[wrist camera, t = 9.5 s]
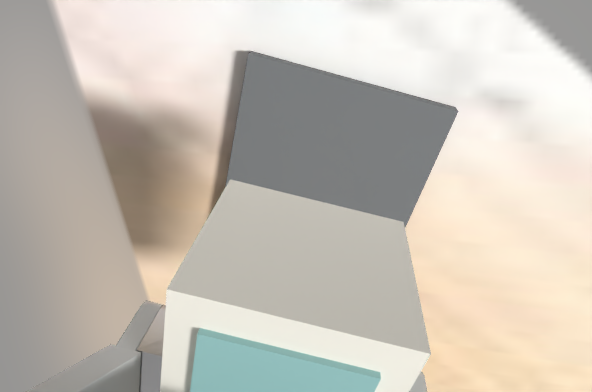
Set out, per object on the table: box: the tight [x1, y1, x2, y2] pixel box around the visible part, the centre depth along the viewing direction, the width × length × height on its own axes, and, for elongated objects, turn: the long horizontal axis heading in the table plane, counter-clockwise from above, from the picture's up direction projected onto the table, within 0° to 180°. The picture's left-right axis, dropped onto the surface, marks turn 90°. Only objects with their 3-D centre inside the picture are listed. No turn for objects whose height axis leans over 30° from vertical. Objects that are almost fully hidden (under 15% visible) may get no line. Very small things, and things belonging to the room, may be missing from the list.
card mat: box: [225, 51, 458, 227], centre depth 20 cm, size 12×9×1 cm
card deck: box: [160, 179, 431, 392], centre depth 11 cm, size 5×8×5 cm, turn 168°
